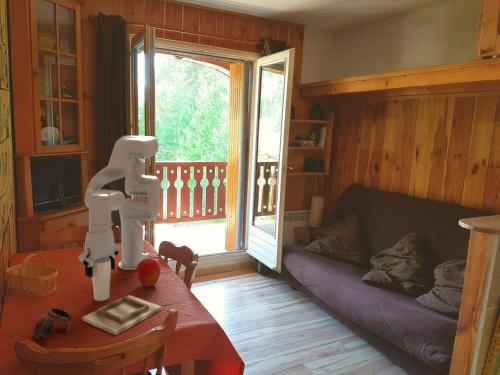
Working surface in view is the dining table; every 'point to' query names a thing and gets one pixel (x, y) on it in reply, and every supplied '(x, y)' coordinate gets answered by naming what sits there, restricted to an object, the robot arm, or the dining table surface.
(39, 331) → the pottery mug
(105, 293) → the drinking glass
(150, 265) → the apple
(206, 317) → the dining table surface
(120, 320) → the locating board
